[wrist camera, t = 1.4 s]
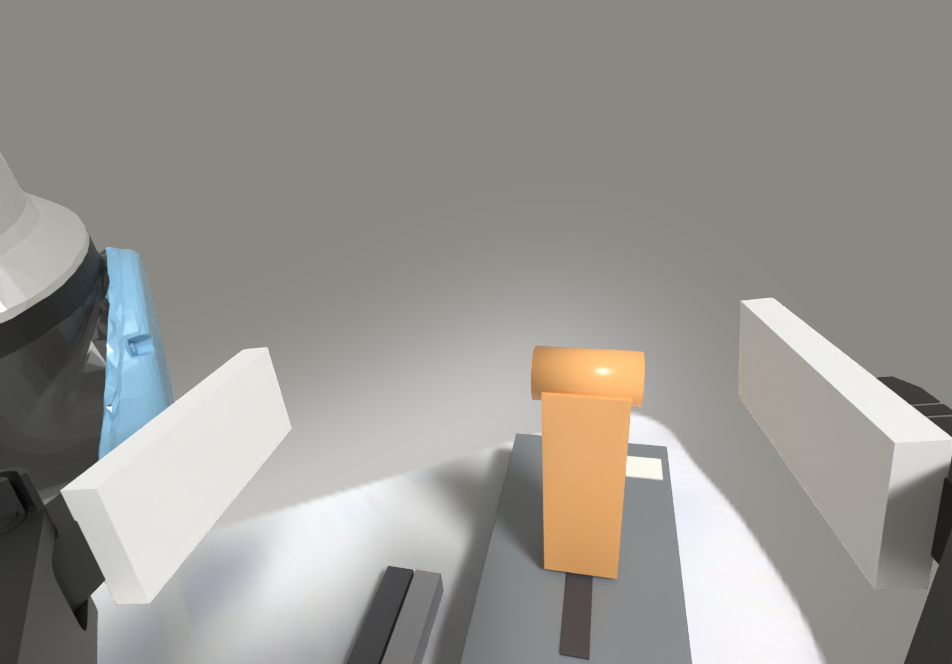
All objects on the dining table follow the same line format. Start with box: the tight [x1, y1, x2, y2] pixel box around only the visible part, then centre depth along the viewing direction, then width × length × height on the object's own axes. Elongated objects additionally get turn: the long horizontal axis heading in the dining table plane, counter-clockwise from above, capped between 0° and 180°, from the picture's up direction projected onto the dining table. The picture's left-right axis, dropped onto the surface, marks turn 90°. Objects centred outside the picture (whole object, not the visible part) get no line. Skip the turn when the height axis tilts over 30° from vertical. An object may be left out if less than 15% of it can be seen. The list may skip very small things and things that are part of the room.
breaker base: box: [460, 434, 692, 664], centre depth 33 cm, size 11×20×3 cm, turn 167°
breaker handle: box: [531, 346, 645, 579], centre depth 29 cm, size 5×3×14 cm, turn 77°
